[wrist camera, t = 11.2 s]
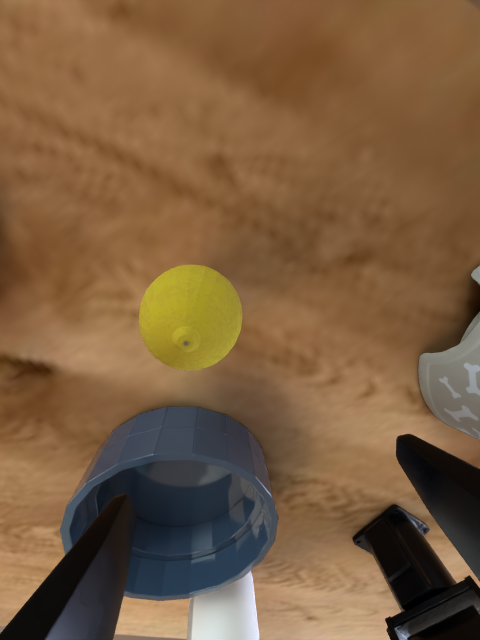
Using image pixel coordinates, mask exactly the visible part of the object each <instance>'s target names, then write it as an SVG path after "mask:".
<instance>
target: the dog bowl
mask: <svg viewBox="0 0 480 640" xmlns="http://www.w3.org/2000/svg"><path fill="white" fill-rule="evenodd" d="M471 276H472V278H473V279H474V280H475V281H477V282H478V283H479V284H480V266H479V267H477V268H476V269H475V270H474V271H473V272H472V274H471ZM418 371H419V374H418V376H419V384H420V389H421V392H422V395H423V398H424V400H425V402H426V404H427V406H428V407H429V409H430V410H431V412H432V413H433V414H434V415H435V416H436V417H437V418H438V419H440V420H441V421H442V422H444V423H446V424H447V425H449V426H451V427H453V428H455V429H457V430H460V431H462V432H464V433H466V434H468V435H470V436H472V437H474V438H476V439H478V440H480V312H479V313H478V314H477V315H476V317H475V318H474V319H473V321H472V322H471V323H470V325H469V327H468V328H467V330H466V331H465V333H464V335H463V337H462V339H461V342H460V344H459V345H457V346H455V347H453V348H450V349H448V350H446V351H443V352H438V353H423V354H422V355H421V356H420V358H419V367H418Z"/></svg>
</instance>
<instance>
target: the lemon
mask: <svg viewBox="0 0 480 640" xmlns="http://www.w3.org/2000/svg"><path fill="white" fill-rule="evenodd" d="M241 324H242V308H241V302H240V299H239V297H238V294H237V292H236V290H235V288H234V287H233V286H232V284H231V283H230V282H229V281H228V279H227V278H225V277H224V276H223V275H221V274H220V273H219V272H218V271H215V270H213V269H211V268H208V267H206V266H200V265H194V264H192V265H181V266H178V267H175V268H172V269H170V270H167V271H166V272H164V273H163V274H162V275H160V276H159V277H157V278H156V279H155V280H154V282H153V283H152V284H151V285H150V287H149V288H148V289H147V291H146V293H145V295H144V297H143V300H142V302H141V305H140V313H139V326H140V333H141V336H142V338H143V340H144V343H145V345H146V347H147V348H148V349H149V351H150V352H151V353H152V354H153V356H154V357H156V358H157V359H158V360H160V361H161V362H162V363H164V364H166V365H168V366H170V367H173V368H176V369H181V370H199V369H203V368H207V367H209V366H211V365H213V364H215V363H217V362H219V361H220V360H221V359H222V358H223V357H225V356H226V355H227V354H228V353H229V351H230V350H231V349H232V347H233V346H234V344H235V343H236V341H237V338H238V336H239V333H240V330H241Z"/></svg>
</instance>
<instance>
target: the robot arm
mask: <svg viewBox="0 0 480 640" xmlns="http://www.w3.org/2000/svg"><path fill="white" fill-rule="evenodd" d="M396 457H397V460H398V462H399V464H400V465H401V467H402V469H403V470H404V472H405V473H406V475H407V477H408V478H409V480H410V482H411V483H412V485H413V486H414V488H415V490H416V491H417V493H418V495H419V496H420V498H421V500H422V501H423V503H424V504H425V506H426V508H427V509H428V511H429V512H430V514H431V515H432V516H433V518H434V519H435V521H436V522H437V524H438V525H439V526H440V528H441V529H442V530H443V532H444V533H445V534H446V536H447V537H448V539H449V540H450V541H451V543H452V544H453V545H454V547H455V548H456V549H457V551H458V552H459V554H460V555H461V556H462V558H463V559H464V560H465V562H466V563H467V564H468V566H469V567H470V569H471V570H472V571H473V573H474V574H475V575H476V577H477V578H478V580H479V581H480V469H479V468H477V467H475V466H473V465H471V464H469V463H467V462H465V461H463V460H461V459H459V458H457V457H455V456H453V455H451V454H449V453H447V452H445V451H443V450H441V449H439V448H437V447H435V446H433V445H431V444H430V443H428V442H426V441H424V440H422V439H420V438H418V437H416V436H414V435H411V434H405V435H400V436H398V437H397V440H396ZM136 519H137V513H136V509H135V507H134V504H133V502H132V500H131V497H130V495H129V494H122V495H117V496H115V497H114V498H113V499H112V500H111V501H110V502H109V503H108V505H107V506H106V507H105V508H104V509H103V511H102V512H101V513H100V514H99V515H98V517H97V518H96V519H95V520H94V521H93V523H92V524H91V525H90V526H89V527H88V529H87V530H86V531H85V532H84V533H83V535H82V536H81V537H80V538H79V539H78V541H77V542H76V543H75V544H74V546H73V547H72V548H71V549H70V550H69V552H68V553H67V554H66V555H65V556H64V558H63V559H62V560H61V561H60V562H59V564H58V565H57V566H56V567H55V568H54V570H53V571H52V572H51V573H50V574H49V576H48V577H47V578H46V579H45V580H44V582H43V583H42V584H41V585H40V586H39V588H38V589H37V590H36V591H35V592H34V594H33V595H32V596H31V597H30V598H29V600H28V601H27V602H26V603H25V604H24V606H23V607H22V608H21V609H20V610H19V612H18V613H17V614H16V615H15V617H14V618H13V619H12V620H11V621H10V623H9V624H8V625H7V626H6V627H5V629H4V630H3V631H2V632H1V633H0V640H113V638H114V633H115V629H116V625H117V621H118V617H119V612H120V608H121V604H122V600H123V596H124V591H125V587H126V582H127V577H128V571H129V565H130V558H131V552H132V545H133V539H134V532H135V526H136ZM428 531H429V527H428V526H427V525H426V524H425V523H424V522H422V521H421V520H419V519H418V518H416V517H415V516H413V515H412V514H410V513H409V512H407V511H406V510H404V509H403V508H401V507H400V506H398V505H392V506H390V507H389V508H388V509H387V510H386V511H384V512H383V513H382V514H381V515H379V516H378V517H377V518H376V519H374V520H373V521H372V522H371V523H370V524H368V525H367V526H366V527H365V528H363V529H362V530H361V531H360V532H358V533H357V534H356V535H355V536H354V537H353V538H352V539H353V542H354V544H355V545H357V546H359V547H361V548H362V549H364V550H366V551H368V552H370V553H372V554H373V556H374V558H375V560H376V562H377V564H378V566H379V568H380V570H381V572H382V574H383V576H384V578H385V580H386V582H387V584H388V586H389V588H390V590H391V592H392V594H393V596H394V598H395V600H396V602H397V604H398V606H399V608H400V610H401V613H399V614H397V615H395V616H393V617H388V618H386V619H385V621H386V623H387V626H388V628H387V633H388V635H389V637H390V639H391V640H480V614H479V613H480V588H479V587H478V585H477V584H476V583H475V582H474V580H473V579H472V578H471V576H470V575H469V576H467V577H465V580H463V581H461V582H459V583H456V581H455V580H454V579H453V577H452V576H451V574H450V573H449V571H448V570H447V569H446V567H445V566H444V564H443V563H442V562H441V560H440V559H439V557H438V556H437V554H436V553H435V552H434V550H433V549H432V547H431V546H430V544H429V543H428V542H427V540H426V539H425V537H424V536H423V535H424V534H426V533H427V532H428Z"/></svg>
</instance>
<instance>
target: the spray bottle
mask: <svg viewBox="0 0 480 640" xmlns="http://www.w3.org/2000/svg"><path fill="white" fill-rule="evenodd" d="M187 640H260V639H259V630H258V621H257V612H256V603H255V595H254V586H253V577H252V573H251V571H250V572H249V573H248V574H246V575H245V576H244V577H243V578H241V579H239V580H237V581H235V582H233V583H231V584H229V585H227V586H226V587H224V588H222V589H220V590H217V591H214V592H210V593H207V594H203V595H199V596H196V597H192V598H190V600H189V614H188V628H187Z"/></svg>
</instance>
